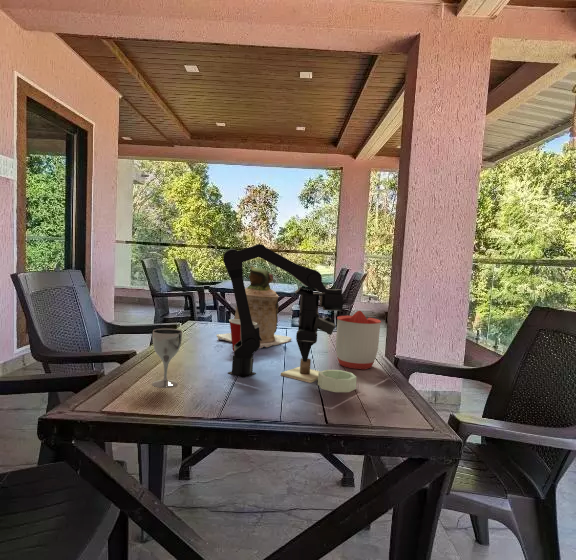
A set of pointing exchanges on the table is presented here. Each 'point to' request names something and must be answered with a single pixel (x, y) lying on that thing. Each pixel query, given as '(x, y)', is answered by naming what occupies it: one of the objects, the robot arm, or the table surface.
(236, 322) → the plastic cup
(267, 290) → the cookie jar
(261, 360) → the table surface
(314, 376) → the lid
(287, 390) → the table surface
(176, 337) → the wine glass
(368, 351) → the citrus juicer
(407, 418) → the table surface
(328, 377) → the bowl
